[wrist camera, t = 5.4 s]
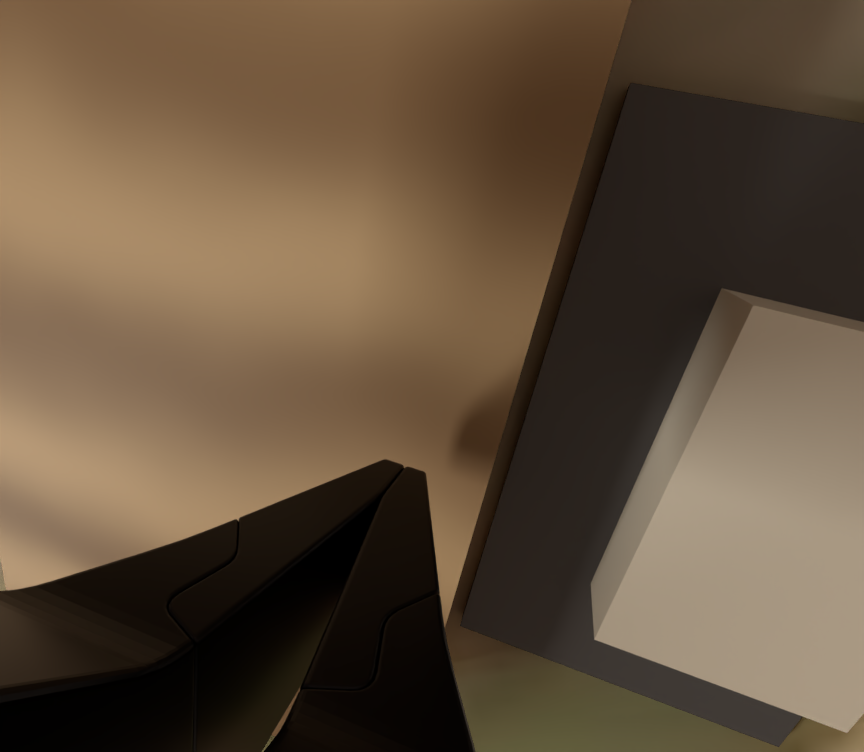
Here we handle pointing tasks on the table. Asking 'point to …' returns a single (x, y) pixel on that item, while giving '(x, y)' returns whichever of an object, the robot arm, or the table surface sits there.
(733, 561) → the cream bevelled slab
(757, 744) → the table surface
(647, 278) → the bar mat
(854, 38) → the table surface
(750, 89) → the table surface
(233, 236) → the serving board
